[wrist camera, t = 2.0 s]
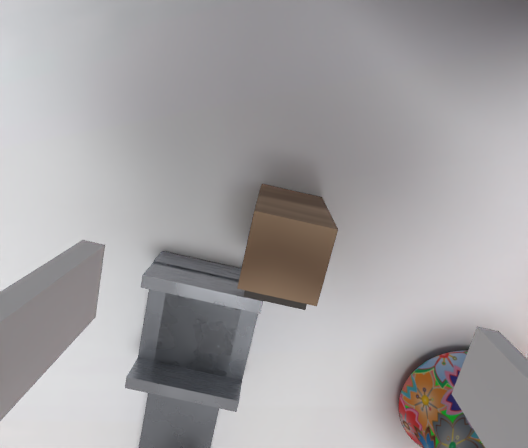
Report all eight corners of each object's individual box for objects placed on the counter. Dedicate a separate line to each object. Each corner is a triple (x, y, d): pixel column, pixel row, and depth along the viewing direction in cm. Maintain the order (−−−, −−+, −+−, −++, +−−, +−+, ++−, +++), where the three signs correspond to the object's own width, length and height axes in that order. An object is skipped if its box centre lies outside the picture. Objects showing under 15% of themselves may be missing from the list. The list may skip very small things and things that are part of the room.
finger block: (261, 183, 27) (254, 210, 20) (321, 197, 28) (338, 229, 20) (247, 249, 29) (234, 299, 21) (304, 262, 29) (313, 316, 21)
